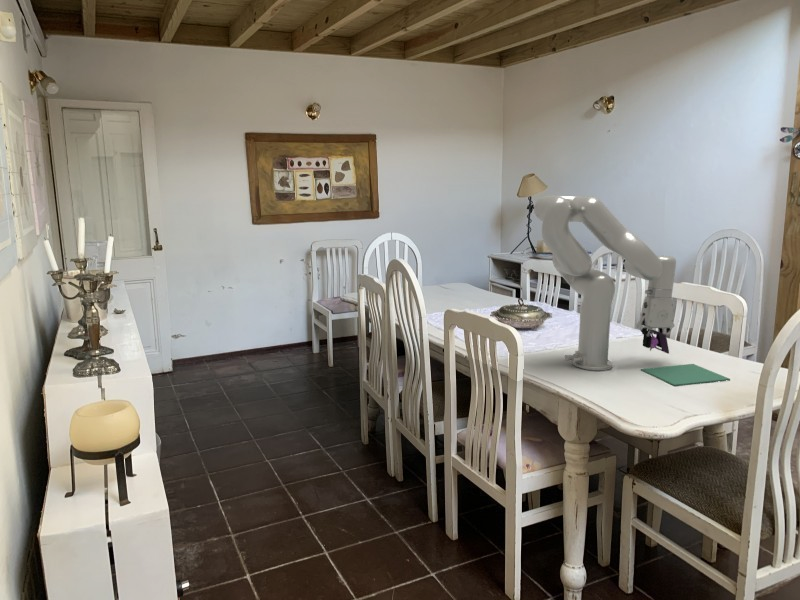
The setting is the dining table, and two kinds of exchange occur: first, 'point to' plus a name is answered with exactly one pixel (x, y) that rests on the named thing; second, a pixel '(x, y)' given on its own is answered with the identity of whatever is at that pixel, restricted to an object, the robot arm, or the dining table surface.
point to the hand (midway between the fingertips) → (652, 346)
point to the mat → (684, 374)
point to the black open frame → (662, 340)
